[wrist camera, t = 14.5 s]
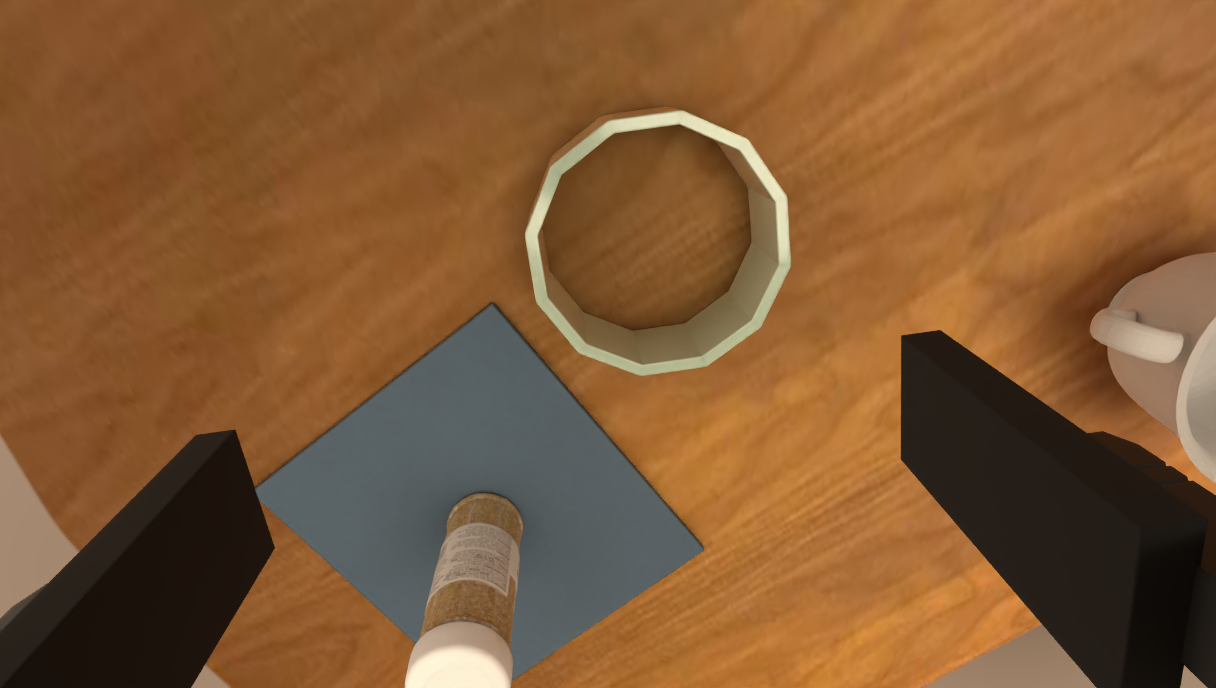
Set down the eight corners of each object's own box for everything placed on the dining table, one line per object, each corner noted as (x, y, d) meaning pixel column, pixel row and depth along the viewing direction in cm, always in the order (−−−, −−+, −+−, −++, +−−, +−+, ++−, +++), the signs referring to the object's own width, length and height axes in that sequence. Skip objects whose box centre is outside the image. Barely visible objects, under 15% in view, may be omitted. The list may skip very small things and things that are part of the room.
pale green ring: (484, 209, 40) (473, 228, 35) (672, 57, 38) (690, 54, 33) (625, 379, 43) (633, 419, 38) (803, 248, 42) (838, 271, 36)
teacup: (1053, 180, 41) (1200, 209, 32) (1291, 237, 43) (1497, 281, 34) (971, 383, 45) (1081, 464, 35) (1194, 429, 47) (1355, 517, 37)
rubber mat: (254, 488, 44) (250, 492, 44) (493, 302, 41) (492, 304, 41) (480, 697, 50) (479, 702, 50) (703, 545, 47) (704, 550, 47)
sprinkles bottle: (503, 566, 46) (482, 749, 34) (433, 538, 45) (385, 714, 33) (537, 507, 45) (528, 673, 32) (467, 476, 44) (429, 635, 32)
